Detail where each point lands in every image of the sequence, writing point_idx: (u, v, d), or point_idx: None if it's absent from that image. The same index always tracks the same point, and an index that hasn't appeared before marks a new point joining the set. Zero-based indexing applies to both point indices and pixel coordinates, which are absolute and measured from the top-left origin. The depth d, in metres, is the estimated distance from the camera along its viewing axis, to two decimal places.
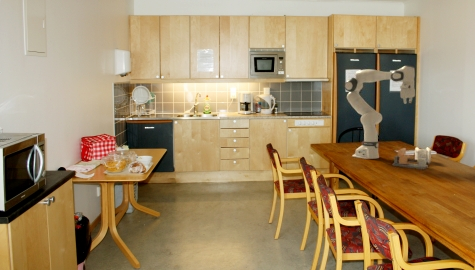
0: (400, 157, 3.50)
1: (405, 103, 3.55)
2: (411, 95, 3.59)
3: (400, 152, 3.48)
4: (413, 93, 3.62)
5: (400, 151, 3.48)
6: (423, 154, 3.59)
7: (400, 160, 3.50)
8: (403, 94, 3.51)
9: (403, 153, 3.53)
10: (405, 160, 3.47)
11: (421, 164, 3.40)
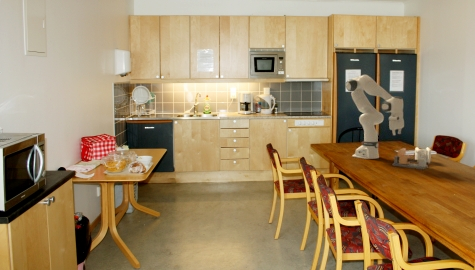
0: (400, 157, 3.50)
1: None
2: (400, 126, 3.53)
3: (400, 152, 3.48)
4: (402, 124, 3.56)
5: (400, 151, 3.48)
6: (423, 154, 3.59)
7: (400, 160, 3.50)
8: (392, 126, 3.45)
9: (403, 153, 3.53)
10: (405, 160, 3.47)
11: (421, 164, 3.40)
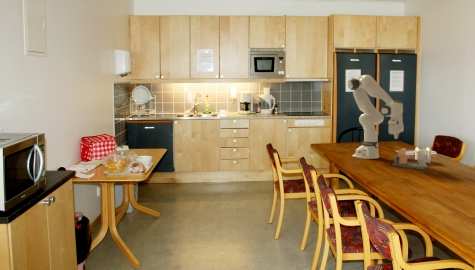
0: (400, 157, 3.50)
1: (396, 138, 3.52)
2: (400, 130, 3.53)
3: (400, 152, 3.48)
4: (402, 128, 3.56)
5: (400, 151, 3.48)
6: (423, 154, 3.59)
7: (400, 160, 3.50)
8: (391, 130, 3.45)
9: (403, 153, 3.53)
10: (405, 160, 3.47)
11: (421, 164, 3.40)
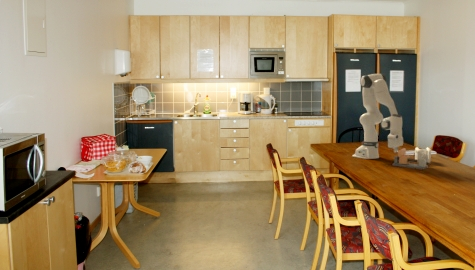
0: (400, 157, 3.50)
1: (395, 152, 3.54)
2: (399, 144, 3.55)
3: (400, 152, 3.48)
4: (401, 141, 3.57)
5: (400, 151, 3.48)
6: (423, 154, 3.59)
7: (400, 160, 3.50)
8: (391, 144, 3.46)
9: (403, 153, 3.53)
10: (405, 160, 3.47)
11: (421, 164, 3.40)
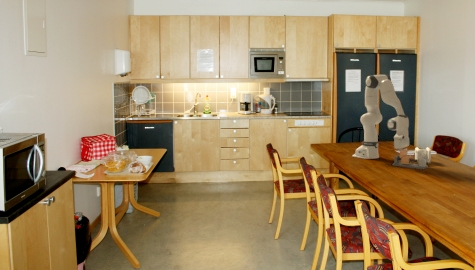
0: (402, 157, 3.49)
1: None
2: (405, 145, 3.51)
3: (402, 152, 3.47)
4: (407, 142, 3.54)
5: (402, 151, 3.47)
6: (423, 154, 3.59)
7: (402, 160, 3.49)
8: (397, 145, 3.43)
9: (405, 153, 3.52)
10: (407, 160, 3.46)
11: (421, 164, 3.40)
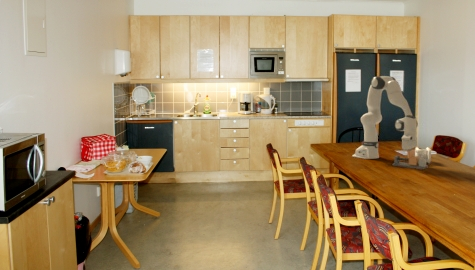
0: (410, 158, 3.45)
1: None
2: (413, 145, 3.47)
3: (410, 153, 3.43)
4: (415, 143, 3.50)
5: (410, 152, 3.43)
6: (423, 154, 3.59)
7: (410, 161, 3.45)
8: (405, 146, 3.39)
9: (412, 154, 3.48)
10: (415, 161, 3.42)
11: (421, 164, 3.40)
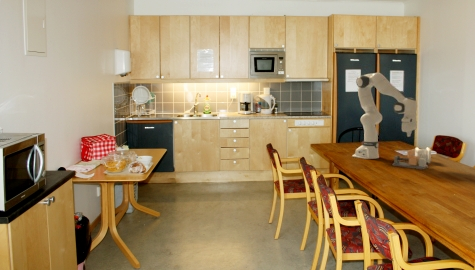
0: (410, 158, 3.45)
1: (408, 136, 3.46)
2: (413, 128, 3.48)
3: (410, 153, 3.43)
4: (415, 126, 3.50)
5: (410, 152, 3.43)
6: (423, 154, 3.59)
7: (410, 161, 3.45)
8: (404, 128, 3.39)
9: (412, 154, 3.48)
10: (415, 161, 3.42)
11: (421, 164, 3.40)
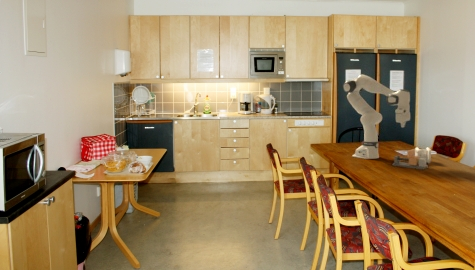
0: (410, 158, 3.45)
1: None
2: (406, 119, 3.58)
3: (410, 153, 3.43)
4: (408, 117, 3.60)
5: (410, 152, 3.43)
6: (423, 154, 3.59)
7: (410, 161, 3.45)
8: (398, 118, 3.49)
9: (412, 154, 3.48)
10: (415, 161, 3.42)
11: (421, 164, 3.40)
